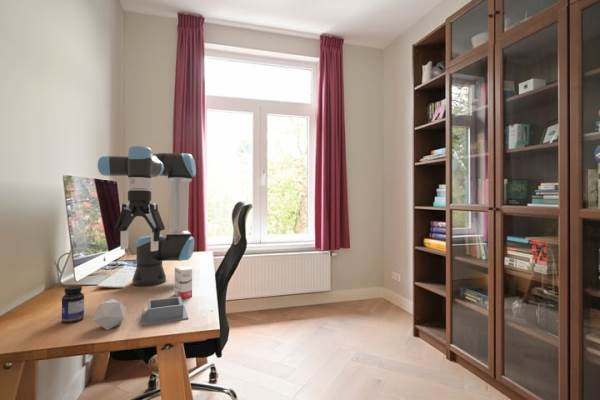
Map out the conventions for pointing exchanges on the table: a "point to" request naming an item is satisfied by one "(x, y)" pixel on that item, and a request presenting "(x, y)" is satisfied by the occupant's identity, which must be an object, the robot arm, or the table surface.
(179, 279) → the ink box
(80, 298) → the pill bottle
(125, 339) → the table surface
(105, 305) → the die
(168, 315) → the well
